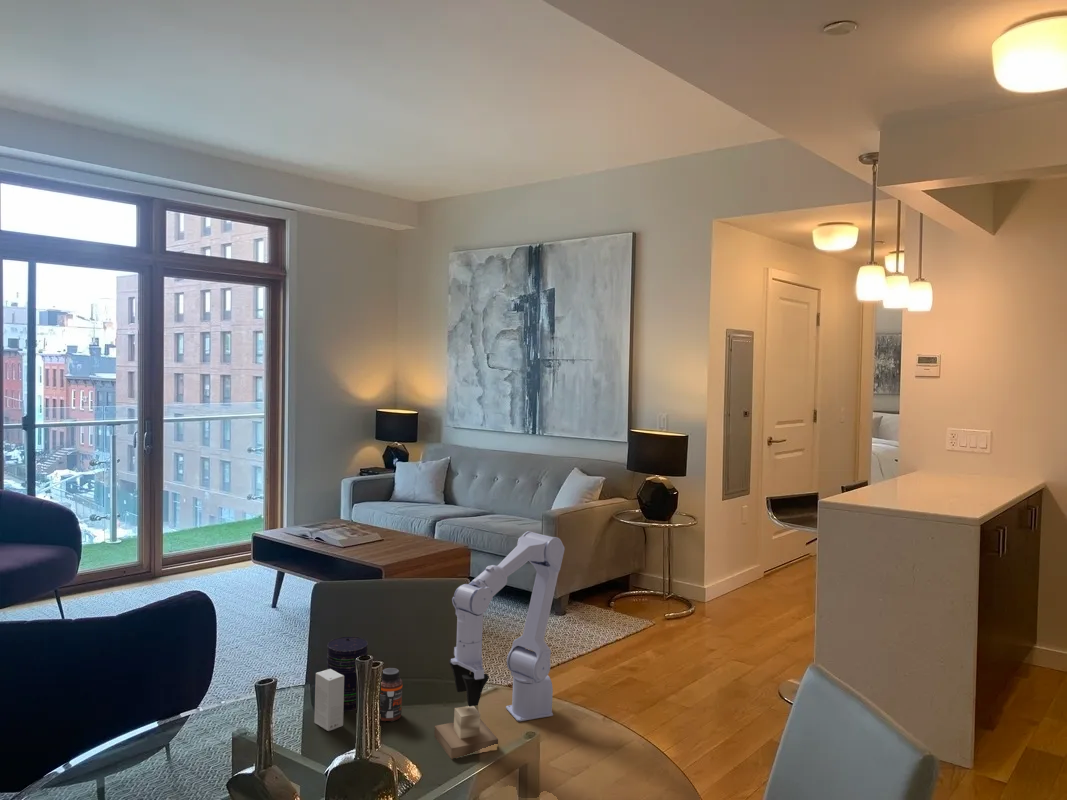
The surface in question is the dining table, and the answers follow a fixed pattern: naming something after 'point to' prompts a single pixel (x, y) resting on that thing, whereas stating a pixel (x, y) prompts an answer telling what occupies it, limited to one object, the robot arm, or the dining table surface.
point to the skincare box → (329, 699)
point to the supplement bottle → (391, 695)
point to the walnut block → (463, 740)
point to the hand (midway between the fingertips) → (467, 698)
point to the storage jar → (346, 664)
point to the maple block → (466, 721)
